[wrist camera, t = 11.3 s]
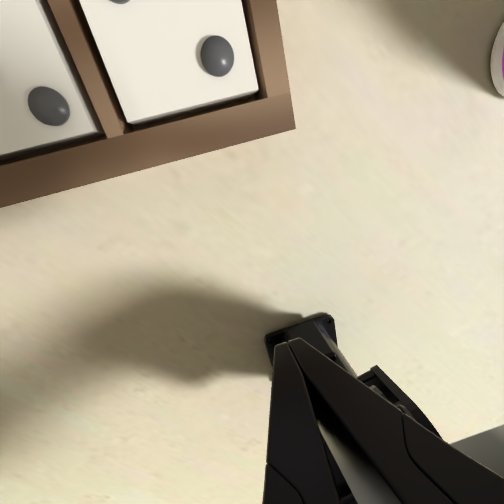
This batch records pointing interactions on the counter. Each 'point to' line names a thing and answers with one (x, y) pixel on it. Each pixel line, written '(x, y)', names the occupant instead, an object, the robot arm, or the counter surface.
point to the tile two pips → (173, 55)
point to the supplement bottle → (498, 61)
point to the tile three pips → (39, 84)
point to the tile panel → (159, 133)
